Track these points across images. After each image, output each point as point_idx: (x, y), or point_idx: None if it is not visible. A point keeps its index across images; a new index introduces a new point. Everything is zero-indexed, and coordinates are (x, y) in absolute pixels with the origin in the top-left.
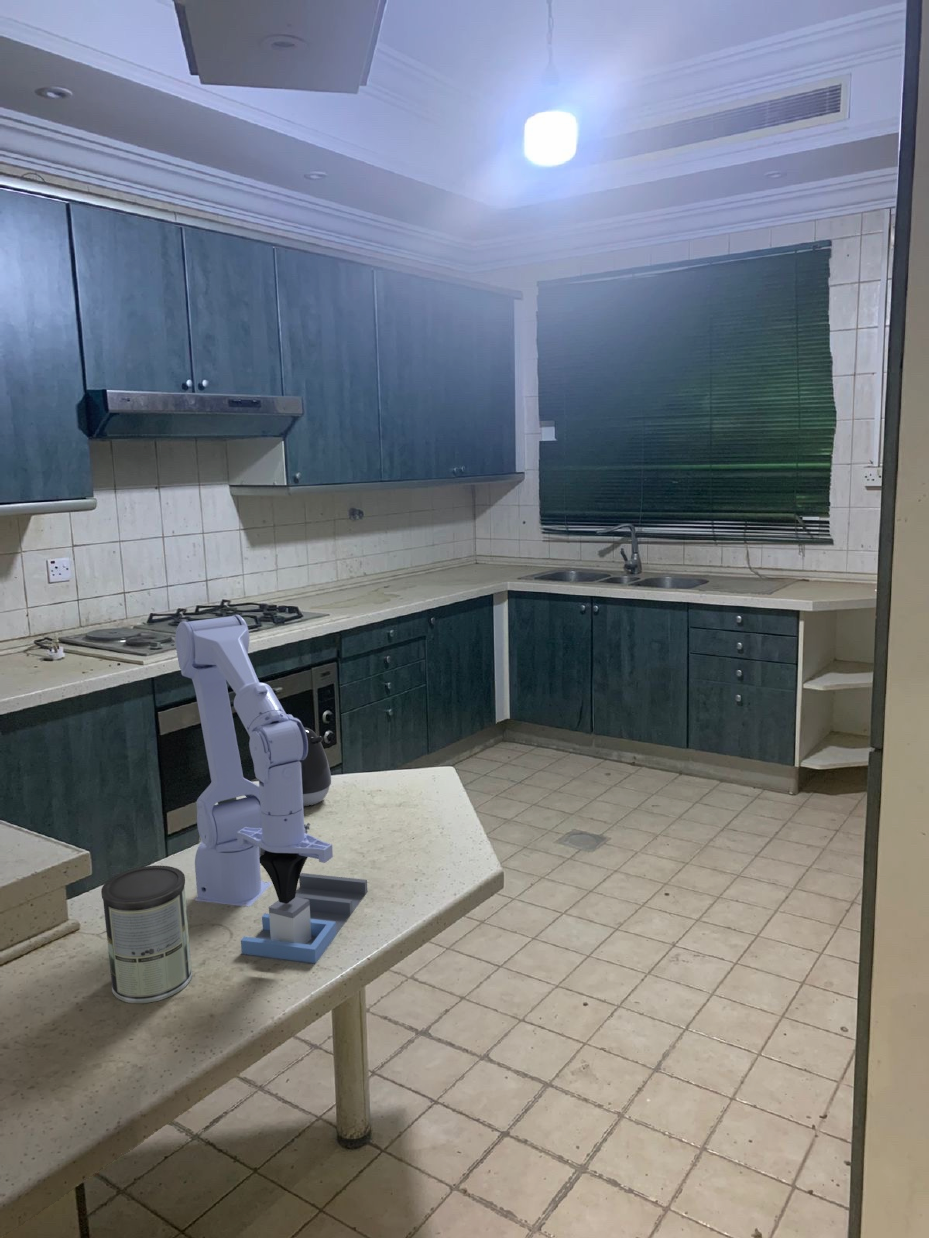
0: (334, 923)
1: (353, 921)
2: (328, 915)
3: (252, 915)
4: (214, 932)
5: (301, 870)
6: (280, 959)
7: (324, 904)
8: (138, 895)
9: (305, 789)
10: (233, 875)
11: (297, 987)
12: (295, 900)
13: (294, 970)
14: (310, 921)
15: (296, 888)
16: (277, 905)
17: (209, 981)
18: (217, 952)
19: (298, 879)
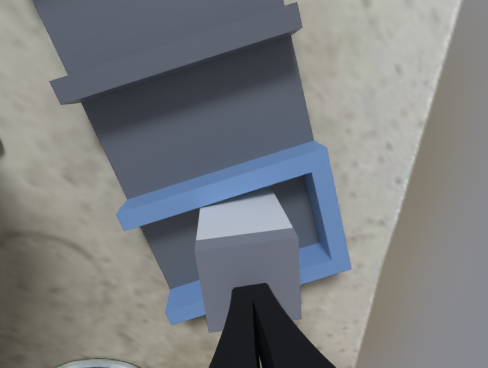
0: (327, 156)
1: (302, 44)
2: (234, 70)
3: (37, 161)
4: (36, 262)
5: (327, 360)
6: None
7: (213, 57)
8: None
9: None
10: None
11: (339, 303)
12: (257, 264)
13: None
14: (279, 203)
15: (277, 301)
16: (225, 313)
17: (188, 364)
18: (117, 306)
19: (296, 327)
